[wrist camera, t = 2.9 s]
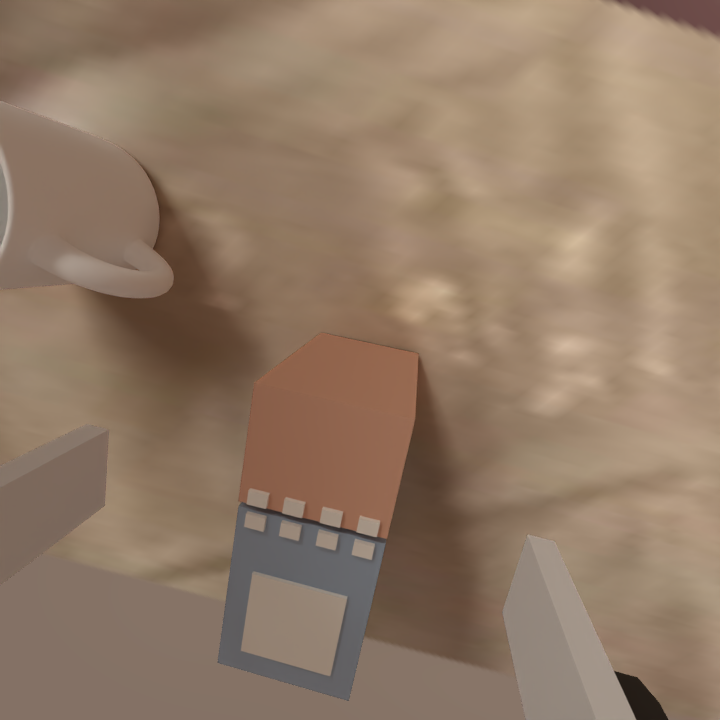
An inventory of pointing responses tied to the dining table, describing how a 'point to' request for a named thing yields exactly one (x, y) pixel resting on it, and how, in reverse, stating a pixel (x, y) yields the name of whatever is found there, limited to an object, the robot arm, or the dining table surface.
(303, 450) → the stub
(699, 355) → the dining table surface
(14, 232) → the mug
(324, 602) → the toy oven block
